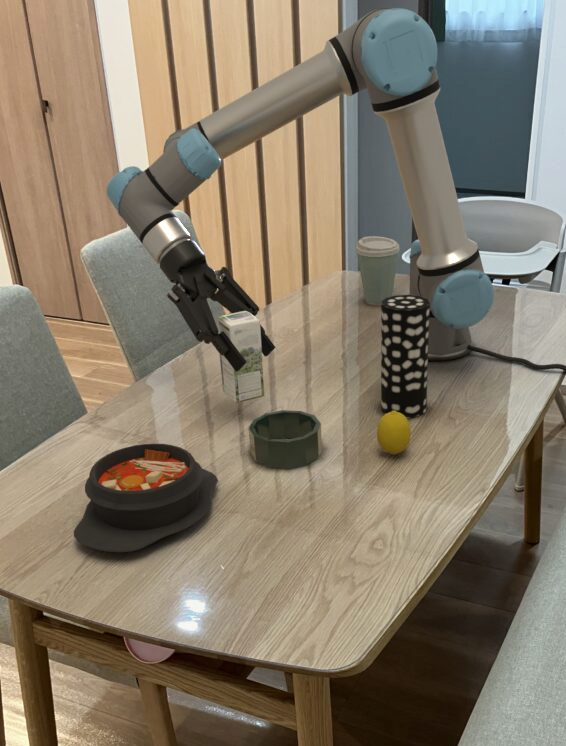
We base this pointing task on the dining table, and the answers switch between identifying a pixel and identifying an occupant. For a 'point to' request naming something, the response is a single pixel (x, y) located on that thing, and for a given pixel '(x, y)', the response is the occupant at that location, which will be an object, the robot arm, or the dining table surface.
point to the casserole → (143, 497)
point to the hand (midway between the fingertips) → (256, 359)
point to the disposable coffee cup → (377, 267)
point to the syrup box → (248, 343)
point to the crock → (285, 452)
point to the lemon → (393, 432)
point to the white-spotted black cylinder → (404, 354)
